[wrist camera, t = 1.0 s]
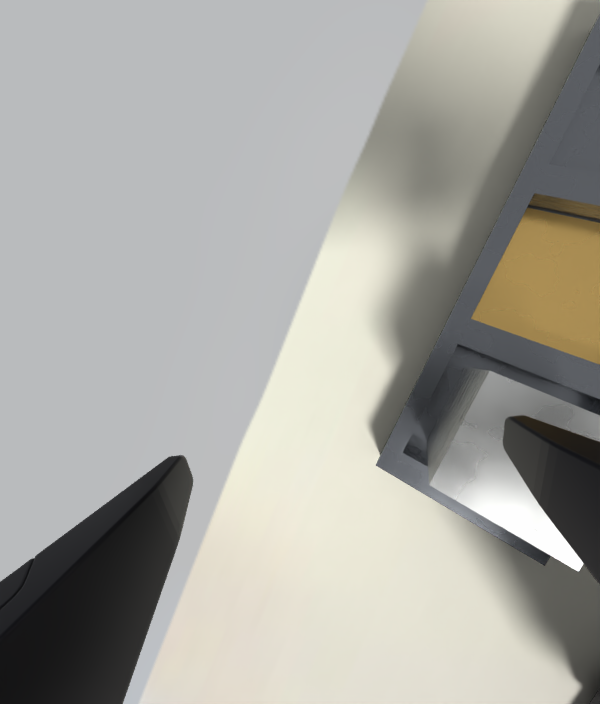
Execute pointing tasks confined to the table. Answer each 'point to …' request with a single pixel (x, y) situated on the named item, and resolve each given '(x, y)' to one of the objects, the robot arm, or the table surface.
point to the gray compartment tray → (525, 290)
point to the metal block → (499, 454)
